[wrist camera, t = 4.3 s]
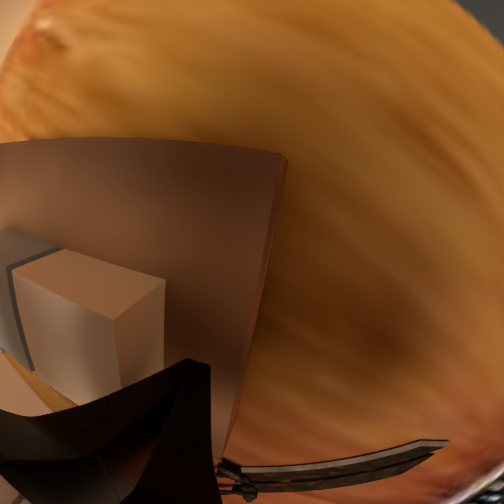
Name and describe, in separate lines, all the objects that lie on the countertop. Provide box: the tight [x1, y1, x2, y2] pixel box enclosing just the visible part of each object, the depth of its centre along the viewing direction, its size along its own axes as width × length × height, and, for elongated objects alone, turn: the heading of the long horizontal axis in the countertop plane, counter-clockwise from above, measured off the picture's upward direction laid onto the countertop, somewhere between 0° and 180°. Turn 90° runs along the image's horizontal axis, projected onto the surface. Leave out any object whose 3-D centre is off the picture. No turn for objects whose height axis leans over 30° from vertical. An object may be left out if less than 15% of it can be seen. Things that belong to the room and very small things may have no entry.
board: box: [0, 138, 288, 459], centre depth 12 cm, size 14×16×3 cm
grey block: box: [0, 228, 59, 372], centre depth 9 cm, size 5×5×3 cm
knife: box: [215, 441, 451, 502], centre depth 15 cm, size 25×6×1 cm, turn 103°
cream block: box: [12, 249, 166, 406], centre depth 9 cm, size 5×5×3 cm
